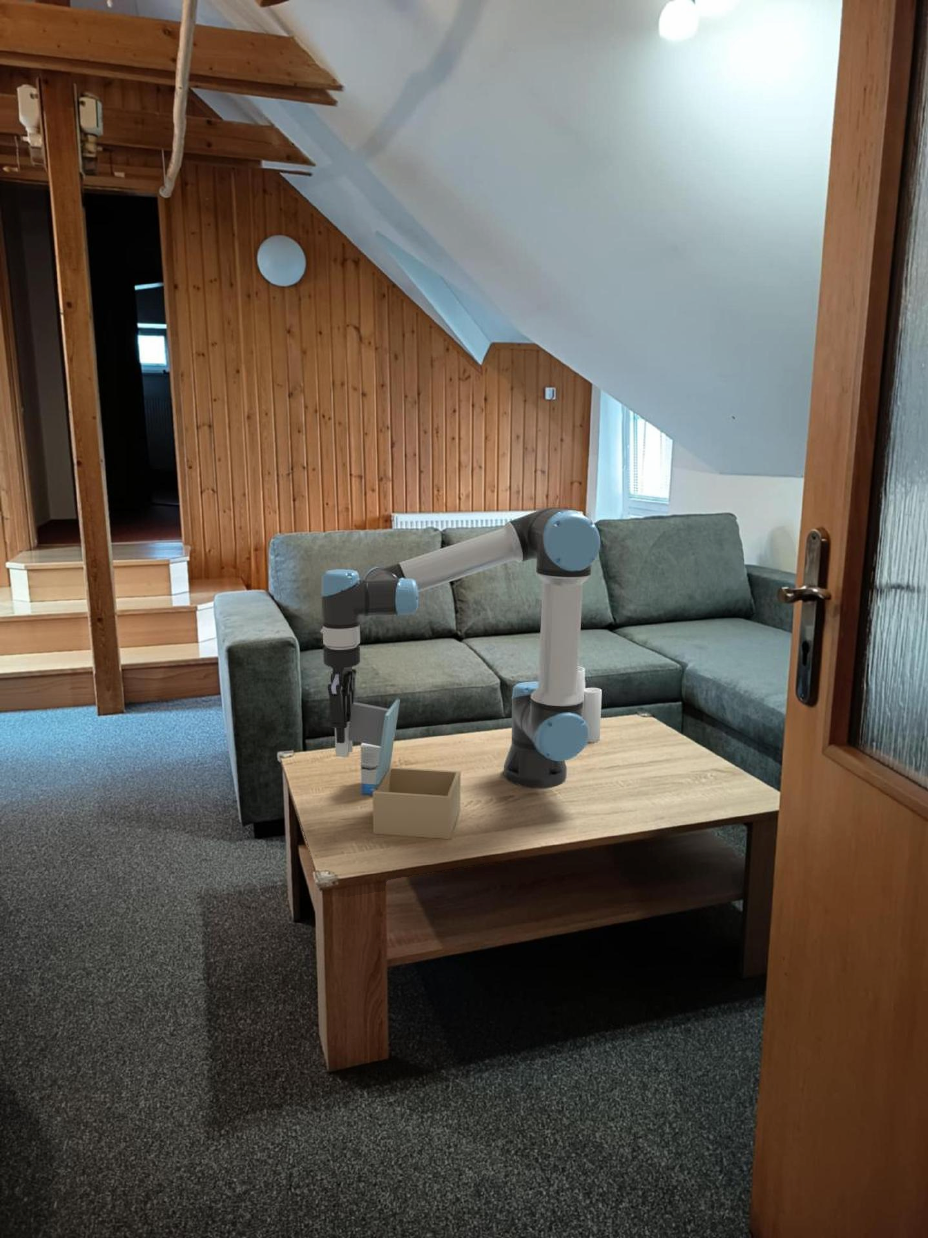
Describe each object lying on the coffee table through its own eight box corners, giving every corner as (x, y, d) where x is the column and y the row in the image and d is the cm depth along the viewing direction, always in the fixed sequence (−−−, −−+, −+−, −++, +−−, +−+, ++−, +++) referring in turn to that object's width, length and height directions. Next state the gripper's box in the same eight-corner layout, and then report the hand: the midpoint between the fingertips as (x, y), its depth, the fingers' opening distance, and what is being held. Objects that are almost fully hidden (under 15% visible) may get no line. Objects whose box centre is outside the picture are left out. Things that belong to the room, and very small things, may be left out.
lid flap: (400, 699, 182) (360, 691, 183) (388, 715, 171) (346, 707, 172) (390, 769, 185) (351, 761, 186) (378, 790, 175) (336, 781, 176)
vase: (565, 746, 225) (568, 673, 221) (553, 737, 232) (555, 666, 228) (603, 741, 230) (606, 669, 225) (589, 732, 236) (592, 662, 232)
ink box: (381, 796, 194) (380, 747, 191) (360, 794, 195) (359, 745, 192) (391, 781, 202) (391, 734, 199) (371, 779, 203) (371, 732, 200)
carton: (460, 810, 187) (460, 771, 185) (450, 839, 173) (450, 797, 171) (388, 805, 189) (388, 767, 187) (373, 833, 175) (372, 792, 173)
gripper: (334, 636, 183) (337, 740, 188) (312, 653, 168) (315, 766, 173) (368, 637, 182) (370, 742, 187) (349, 655, 167) (351, 768, 172)
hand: (344, 753), depth 180 cm, fingers open, 2 cm apart
